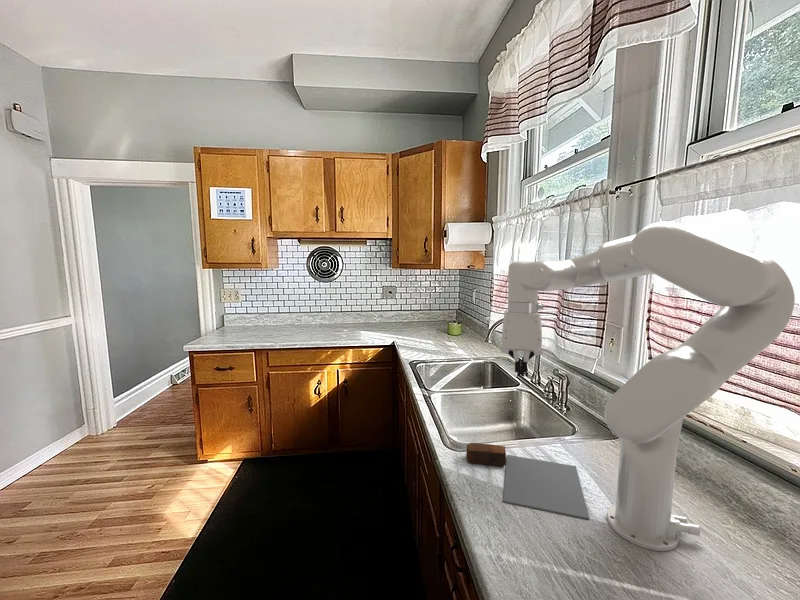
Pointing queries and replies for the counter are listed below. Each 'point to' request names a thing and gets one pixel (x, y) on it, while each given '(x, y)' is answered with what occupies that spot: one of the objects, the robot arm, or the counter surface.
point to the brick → (486, 454)
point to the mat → (544, 486)
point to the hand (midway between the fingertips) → (520, 374)
